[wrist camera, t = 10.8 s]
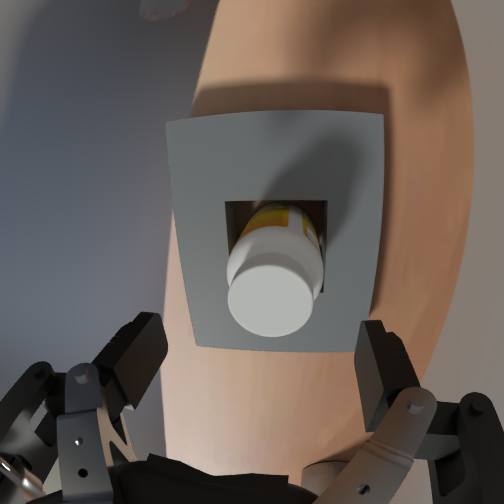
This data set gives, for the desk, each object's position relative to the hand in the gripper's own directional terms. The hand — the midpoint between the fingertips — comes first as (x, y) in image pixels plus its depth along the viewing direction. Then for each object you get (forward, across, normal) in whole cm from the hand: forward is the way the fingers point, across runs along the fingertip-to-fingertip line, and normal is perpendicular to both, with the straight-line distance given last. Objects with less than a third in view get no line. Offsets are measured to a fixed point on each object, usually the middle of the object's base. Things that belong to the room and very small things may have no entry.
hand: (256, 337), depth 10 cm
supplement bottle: (+12, 0, 0) cm, 12 cm away
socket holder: (+12, 0, 0) cm, 12 cm away
